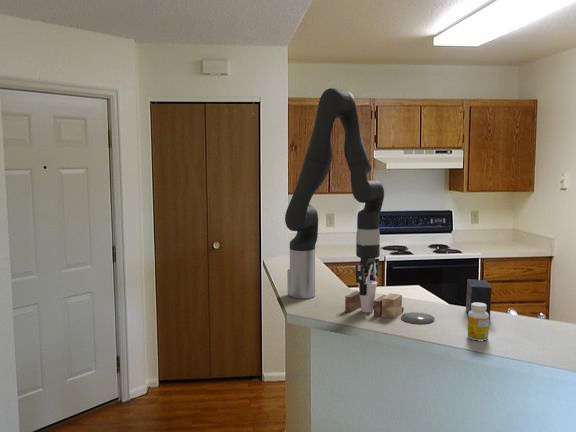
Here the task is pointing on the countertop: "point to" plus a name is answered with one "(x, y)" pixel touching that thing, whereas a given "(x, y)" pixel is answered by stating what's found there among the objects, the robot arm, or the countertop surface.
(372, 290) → the smoothie
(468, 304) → the small box
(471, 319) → the supplement bottle
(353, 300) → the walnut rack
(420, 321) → the coaster
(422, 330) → the countertop surface
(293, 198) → the robot arm
